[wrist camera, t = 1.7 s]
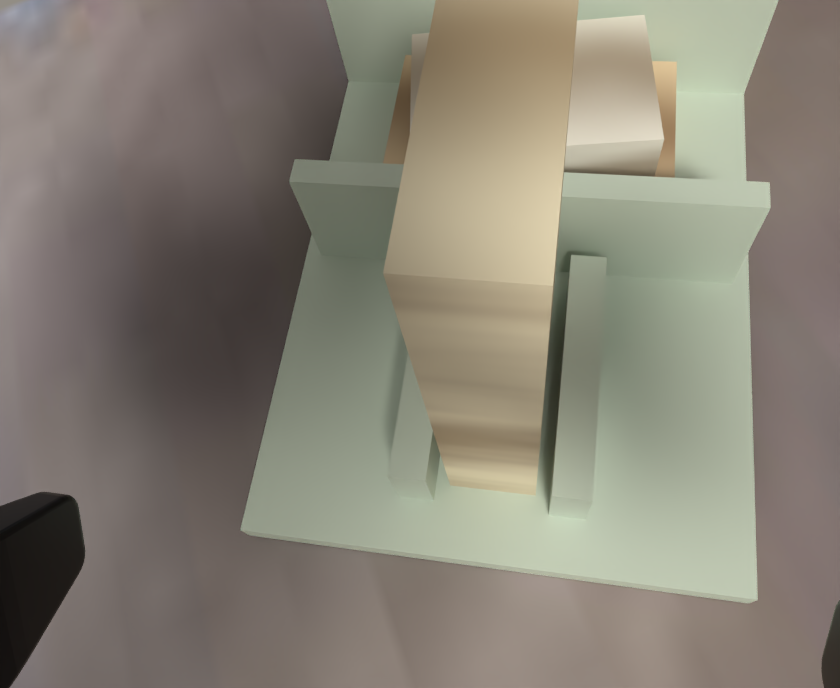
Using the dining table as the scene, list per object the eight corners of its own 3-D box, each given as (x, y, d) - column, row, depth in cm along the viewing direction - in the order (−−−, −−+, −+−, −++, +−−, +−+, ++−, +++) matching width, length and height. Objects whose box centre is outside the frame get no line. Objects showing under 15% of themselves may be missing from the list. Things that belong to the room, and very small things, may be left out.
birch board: (535, 495, 21) (553, 285, 11) (450, 485, 22) (382, 273, 11) (552, 304, 24) (581, -25, 13) (475, 298, 24) (440, -26, 13)
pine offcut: (663, 238, 24) (674, 205, 23) (386, 220, 26) (377, 189, 24) (667, 100, 27) (676, 61, 25) (412, 92, 28) (405, 55, 26)
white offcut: (653, 178, 23) (664, 139, 22) (416, 193, 24) (409, 156, 22) (636, 58, 25) (645, 14, 24) (418, 75, 26) (411, 34, 24)
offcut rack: (749, 603, 20) (848, 561, 14) (248, 535, 23) (149, 474, 17) (737, 92, 27) (800, -84, 21) (356, 80, 30) (314, -81, 24)
